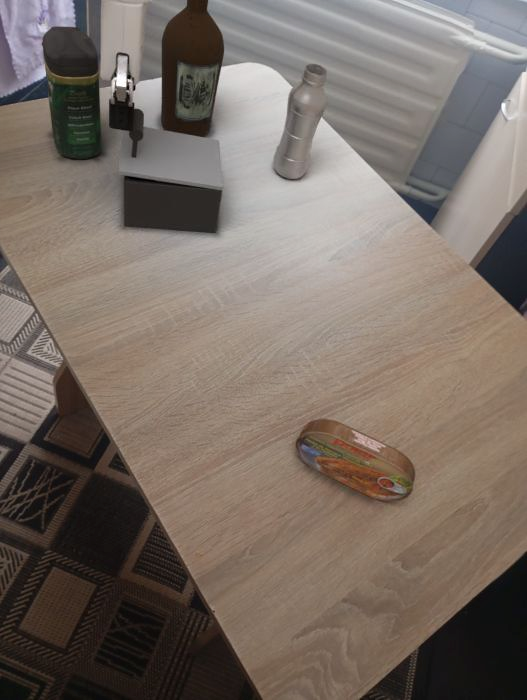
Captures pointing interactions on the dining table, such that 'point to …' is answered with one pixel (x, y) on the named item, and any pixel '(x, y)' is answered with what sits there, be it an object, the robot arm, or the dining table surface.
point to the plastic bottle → (301, 123)
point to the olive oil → (190, 70)
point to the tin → (356, 460)
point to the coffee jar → (73, 91)
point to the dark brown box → (170, 205)
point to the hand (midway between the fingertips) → (122, 108)
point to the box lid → (170, 156)
